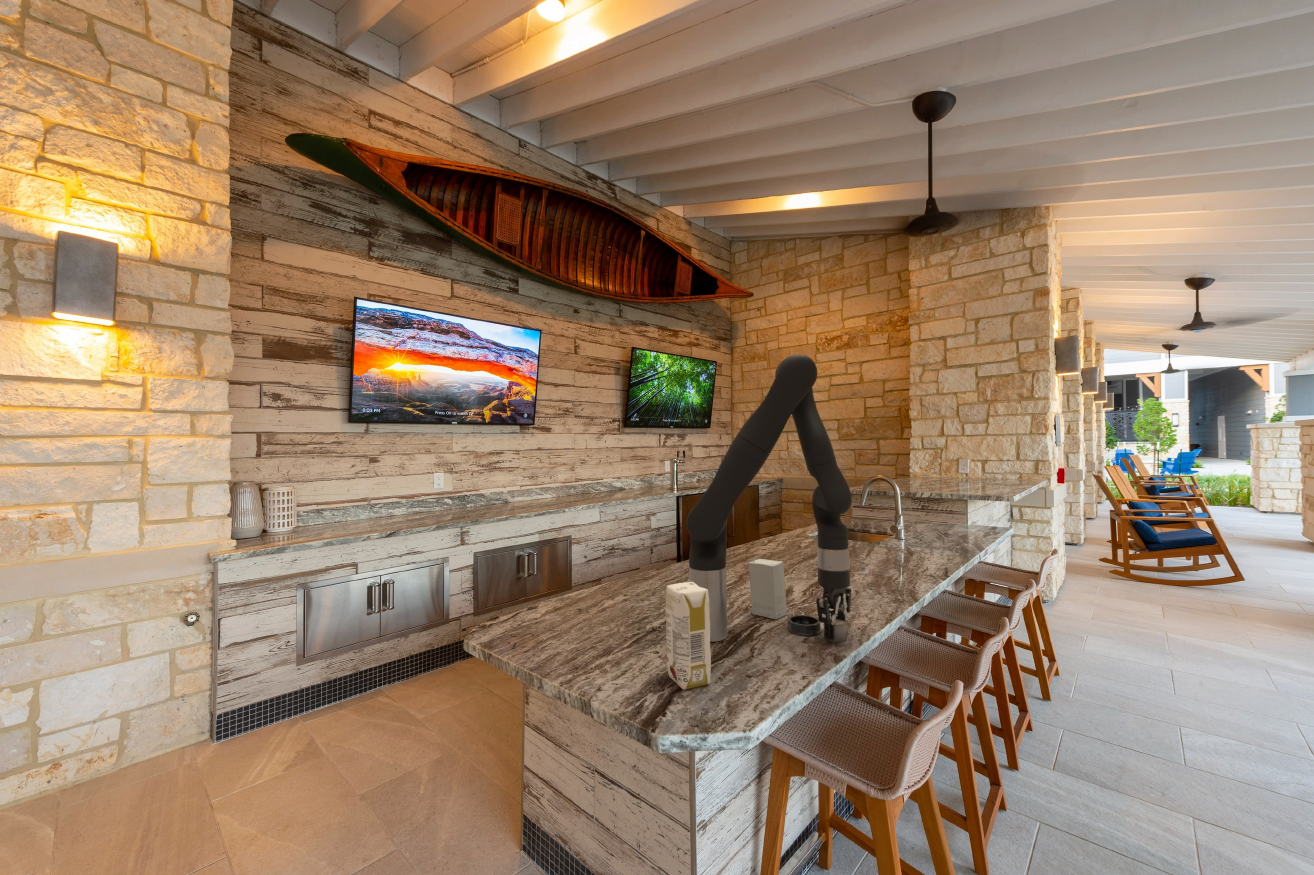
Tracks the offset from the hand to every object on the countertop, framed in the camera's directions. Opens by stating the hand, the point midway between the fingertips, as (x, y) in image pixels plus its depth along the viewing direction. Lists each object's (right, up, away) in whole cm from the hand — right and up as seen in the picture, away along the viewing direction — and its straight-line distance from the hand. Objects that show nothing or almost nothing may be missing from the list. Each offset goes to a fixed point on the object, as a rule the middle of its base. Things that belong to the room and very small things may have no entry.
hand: (835, 635), depth 127 cm
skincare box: (-12, -1, +18) cm, 22 cm away
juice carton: (-37, -2, -21) cm, 42 cm away
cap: (0, -1, 0) cm, 1 cm away
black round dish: (-6, -1, +6) cm, 8 cm away
